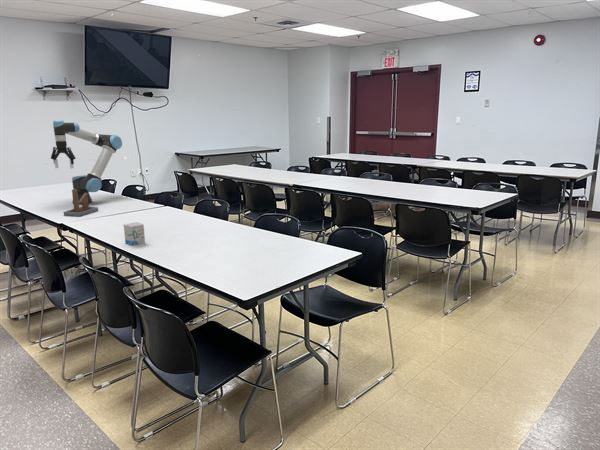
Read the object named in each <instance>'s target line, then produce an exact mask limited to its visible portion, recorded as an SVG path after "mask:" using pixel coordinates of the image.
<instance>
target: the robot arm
mask: <svg viewBox="0 0 600 450" xmlns="http://www.w3.org/2000/svg"><path fill="white" fill-rule="evenodd" d="M52 125H53V126H52V127H53V133H54V141H55V146H54V147H52V152H51V156H50V159H51V160H53V164H54V168H55V169H59V162H58V157H59V155H60V154H65V155H66V156H67V157H68V158H69V166H70V167H69V168H70V169H71V170H72V169H74V168H75V167H74V164H75V163H74V160H76V156H75V154H74V153H73V151H72V148H71V147H70V146H67V145H68V144H67V143H68V142H67V137H66V136H67V135H69V136H73V137H75V138H77V139H81V140H84V141H87V142H91V144H93V145H95V146H98V147H100V148H102V150H101V151H100V154H99V156H98V158H97V160H96V161H95V164H94V165H93V167H92V169H91V172H88V173H87V174H86V175H85V174H83V175H75V176H72V178H71V179H72V180H71V183H72V188H73V189H77V193H78V201H79V200H80V198H81V197H82V196H83V194H84V193H87V195H88V204H90V203H91V204H92V202H93V199H92V196H91V195H90V193H97V192H98V191H100V190H101V188H102V187H103V186H102V176H103V174H104V172H105V169H106V168H107V166H108V164H109V162H110V160H111V158H112V156H113V154H115V153H116V152H117V150H119V149H121V148H122V146H123V141H122V138H121V137H120V136H118V135H116V134H101V133H98V132H97V133H96V132H95V133H94V132H90V131H87V130H84V129H81V128H80V125H79V123H78V122H64V120H59V119H58V120H53V121H52ZM79 205H82V203H79Z"/></svg>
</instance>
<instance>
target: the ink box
mask: <svg viewBox="0 0 600 450" xmlns="http://www.w3.org/2000/svg"><path fill="white" fill-rule="evenodd" d="M144 226H145V224H144V223H141V222H138V221H134V222H129V223H125V224H123V232H124V242H125V244H126V245H130V246H137V245H142V244H145V243H146V237H145V236H146V235H145V227H144Z"/></svg>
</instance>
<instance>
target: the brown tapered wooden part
mask: <svg viewBox="0 0 600 450" xmlns="http://www.w3.org/2000/svg"><path fill="white" fill-rule="evenodd" d="M71 193H72V204H73V208H72V209H73V212H79V213H80V212H83V211H86V210H89V207H90V206H89V204H90V203H88V195H87V193H84V194H83V196H82V197H81V198H80V200H79V201H78V193H77V189H71ZM79 203H82V204H81V206H80V204H79Z"/></svg>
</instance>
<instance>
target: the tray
mask: <svg viewBox="0 0 600 450" xmlns="http://www.w3.org/2000/svg"><path fill="white" fill-rule="evenodd" d="M96 212H99V207H98V206H89V210H86V211H83V212H80V213H79V212H73V208H72V209H69V210H66V211H63V216H64V217H65V216H66V217H74V218H75V217H77V218H78V217H79V218H81V217H84V216H88V215H91V214H93V213H94V214H95V213H96Z"/></svg>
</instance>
